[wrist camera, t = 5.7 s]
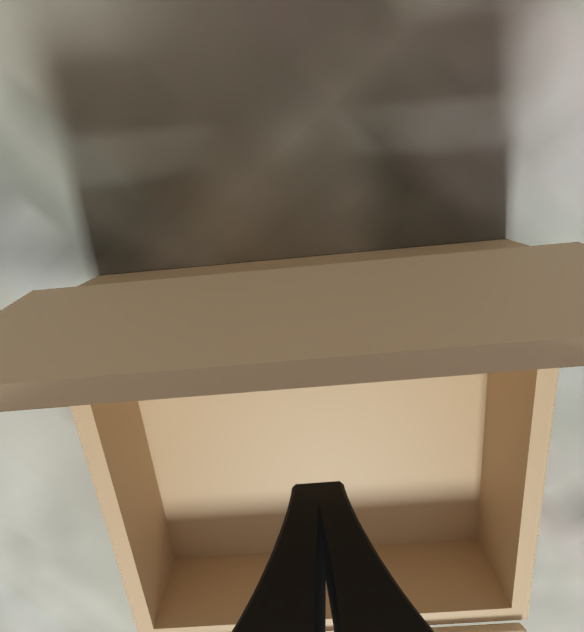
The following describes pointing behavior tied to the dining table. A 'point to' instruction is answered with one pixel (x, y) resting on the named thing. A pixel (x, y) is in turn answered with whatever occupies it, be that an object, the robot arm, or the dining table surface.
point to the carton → (325, 480)
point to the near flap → (295, 328)
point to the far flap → (483, 628)
